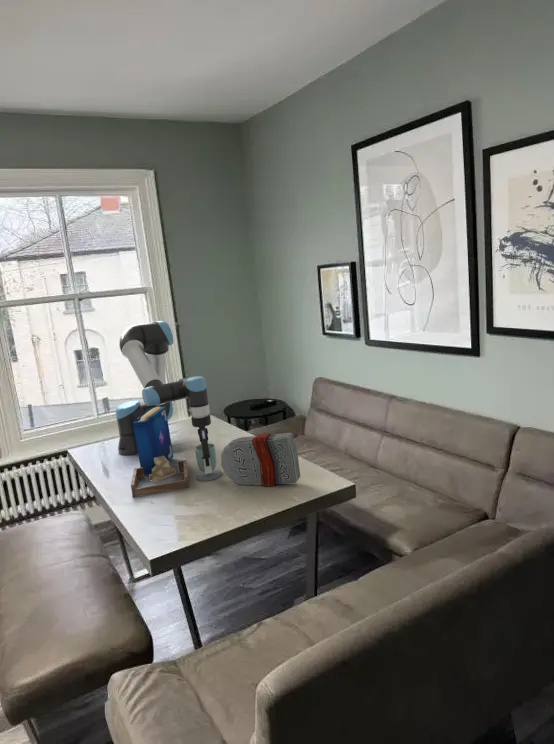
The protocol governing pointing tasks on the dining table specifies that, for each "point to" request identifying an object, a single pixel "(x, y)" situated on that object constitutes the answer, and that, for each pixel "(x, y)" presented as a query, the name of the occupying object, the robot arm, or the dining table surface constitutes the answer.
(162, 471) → the offcut mid
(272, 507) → the dining table surface
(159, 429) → the book
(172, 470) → the offcut low
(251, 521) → the dining table surface
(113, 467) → the dining table surface
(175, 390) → the robot arm
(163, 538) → the dining table surface
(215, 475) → the mat
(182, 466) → the wooden tray
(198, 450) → the cup
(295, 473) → the decorative stone tablet
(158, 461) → the offcut top
